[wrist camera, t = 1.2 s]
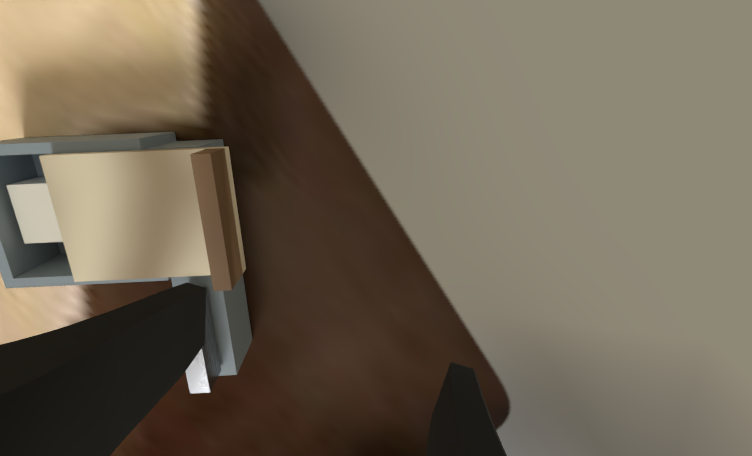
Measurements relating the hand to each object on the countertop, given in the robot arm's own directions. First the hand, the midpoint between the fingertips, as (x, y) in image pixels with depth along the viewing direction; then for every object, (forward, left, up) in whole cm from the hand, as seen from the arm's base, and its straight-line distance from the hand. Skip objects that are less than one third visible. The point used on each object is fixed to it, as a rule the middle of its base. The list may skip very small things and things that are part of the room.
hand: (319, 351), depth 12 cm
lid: (-9, +2, -9) cm, 13 cm away
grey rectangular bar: (-7, -5, -9) cm, 13 cm away
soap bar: (-14, +2, -13) cm, 19 cm away
